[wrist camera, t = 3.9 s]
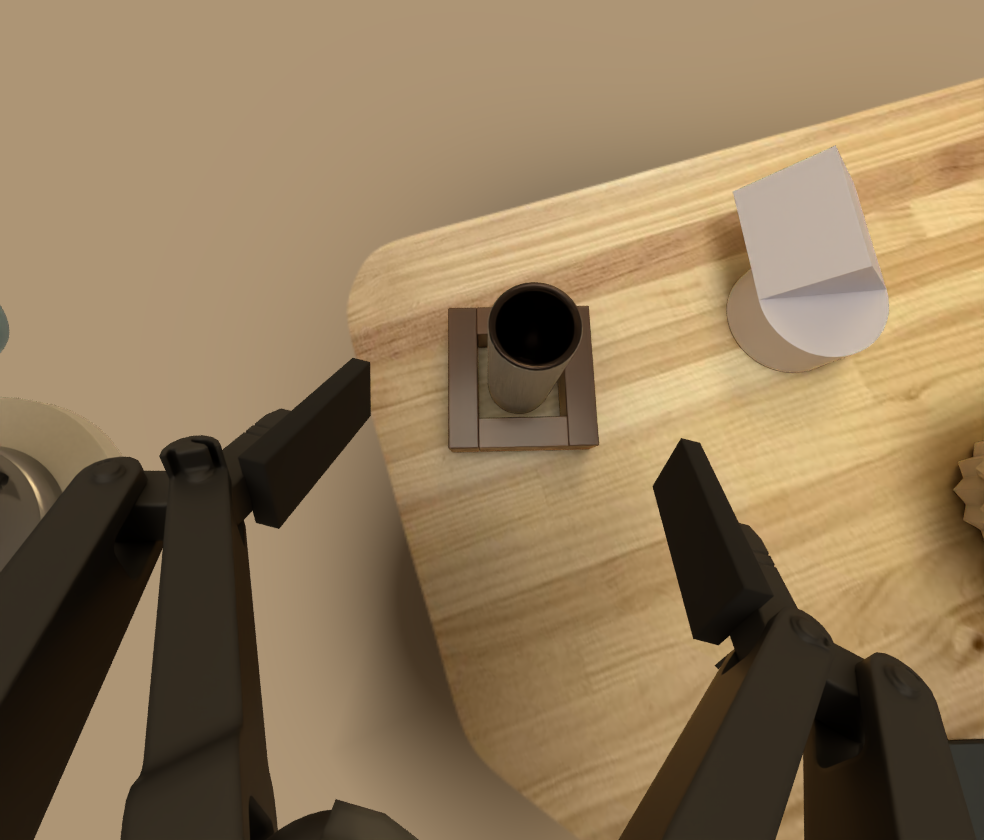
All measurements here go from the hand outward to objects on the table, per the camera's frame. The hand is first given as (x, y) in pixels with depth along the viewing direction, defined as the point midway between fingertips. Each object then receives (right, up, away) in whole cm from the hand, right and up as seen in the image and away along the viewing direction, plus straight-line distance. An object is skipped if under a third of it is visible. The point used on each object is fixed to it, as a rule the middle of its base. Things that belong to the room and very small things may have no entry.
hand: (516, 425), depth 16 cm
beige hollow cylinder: (+1, +3, +12) cm, 13 cm away
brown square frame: (+1, +3, +12) cm, 12 cm away
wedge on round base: (+21, +10, +14) cm, 27 cm away
